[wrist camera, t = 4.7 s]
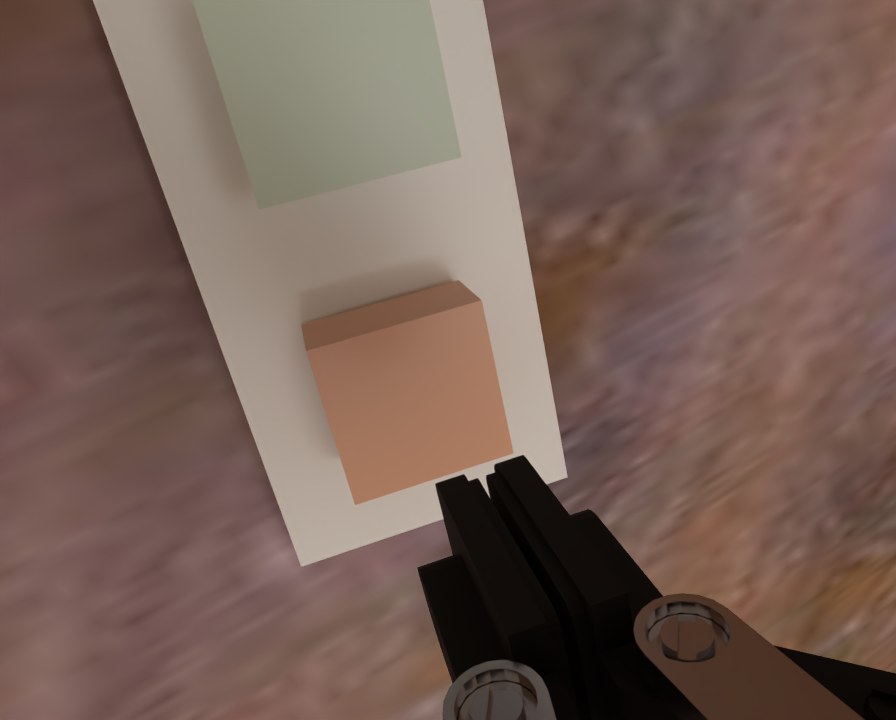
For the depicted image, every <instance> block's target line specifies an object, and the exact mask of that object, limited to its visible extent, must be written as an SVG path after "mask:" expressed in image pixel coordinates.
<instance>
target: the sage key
mask: <svg viewBox="0 0 896 720" xmlns="http://www.w3.org/2000/svg"><path fill="white" fill-rule="evenodd" d="M192 1H193V4H194V7H195V10H196V13H197V17H198V20H199V23H200V26H201V29H202V32H203V35H204V38H205V42H206V45H207V48H208V51H209V54H210V57H211V60H212V63H213V67H214V70H215V73H216V76H217V79H218V82H219V85H220V89H221V92H222V95H223V98H224V101H225V104H226V107H227V110H228V114H229V117H230V120H231V123H232V126H233V129H234V132H235V136H236V139H237V142H238V145H239V148H240V151H241V154H242V157H243V161H244V164H245V167H246V170H247V173H248V176H249V179H250V182H251V186H252V189H253V192H254V195H255V198H256V201H257V204H258V208H259V209H263V208H266V207H270V206H274V205H278V204H282V203H286V202H290V201H294V200H297V199H301V198H305V197H309V196H313V195H317V194H321V193H325V192H329V191H332V190H336V189H340V188H344V187H348V186H352V185H356V184H360V183H364V182H367V181H371V180H375V179H379V178H383V177H387V176H391V175H395V174H399V173H402V172H406V171H410V170H414V169H418V168H422V167H426V166H430V165H433V164H437V163H441V162H445V161H449V160H453V159H457V158H461V152H460V147H459V142H458V137H457V132H456V127H455V122H454V117H453V113H452V108H451V103H450V98H449V93H448V88H447V83H446V78H445V73H444V68H443V63H442V58H441V53H440V49H439V44H438V39H437V34H436V29H435V24H434V19H433V14H432V9H431V4H430V0H192Z"/></svg>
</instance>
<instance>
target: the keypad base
mask: <svg viewBox="0 0 896 720" xmlns="http://www.w3.org/2000/svg"><path fill="white" fill-rule="evenodd" d="M93 2H94V5H95V7H96V10H97V13H98V15H99V18H100V21H101V24H102V26H103V29H104V32H105V34H106V37H107V40H108V43H109V45H110V48H111V51H112V54H113V56H114V59H115V62H116V64H117V67H118V70H119V73H120V75H121V78H122V81H123V83H124V86H125V89H126V92H127V94H128V97H129V100H130V102H131V105H132V108H133V111H134V113H135V116H136V119H137V121H138V124H139V127H140V130H141V132H142V135H143V138H144V140H145V143H146V146H147V149H148V151H149V154H150V157H151V160H152V162H153V165H154V168H155V170H156V173H157V176H158V179H159V181H160V184H161V187H162V189H163V192H164V195H165V198H166V200H167V203H168V206H169V208H170V211H171V214H172V217H173V219H174V222H175V225H176V227H177V230H178V233H179V236H180V238H181V241H182V244H183V246H184V249H185V252H186V255H187V257H188V260H189V263H190V266H191V268H192V271H193V274H194V276H195V279H196V282H197V285H198V287H199V290H200V293H201V295H202V298H203V301H204V304H205V306H206V309H207V312H208V314H209V317H210V320H211V323H212V325H213V328H214V331H215V333H216V336H217V339H218V342H219V344H220V347H221V350H222V352H223V355H224V358H225V361H226V363H227V366H228V369H229V371H230V374H231V377H232V380H233V382H234V385H235V388H236V391H237V393H238V396H239V399H240V401H241V404H242V407H243V410H244V412H245V415H246V418H247V420H248V423H249V426H250V429H251V431H252V434H253V437H254V439H255V442H256V445H257V448H258V450H259V453H260V456H261V458H262V461H263V464H264V467H265V469H266V472H267V475H268V477H269V480H270V483H271V486H272V488H273V491H274V494H275V497H276V499H277V502H278V505H279V507H280V510H281V513H282V516H283V518H284V521H285V524H286V526H287V529H288V532H289V535H290V537H291V540H292V543H293V545H294V548H295V551H296V554H297V556H298V559H299V562H300V564H301V567H302V566H305V565H308V564H311V563H314V562H317V561H320V560H323V559H326V558H329V557H332V556H335V555H338V554H341V553H344V552H347V551H350V550H352V549H355V548H358V547H361V546H364V545H367V544H370V543H373V542H376V541H379V540H382V539H385V538H388V537H391V536H394V535H397V534H400V533H403V532H406V531H409V530H412V529H415V528H418V527H421V526H424V525H427V524H430V523H433V522H436V521H439V520H442V519H444V518H443V515H442V511H441V507H440V503H439V499H438V495H437V491H436V486H435V483H438V482H441V481H444V480H447V479H450V478H453V477H456V476H459V475H462V474H465V476H466V477H467V479H468V481H470V480H473V479H476V478H478V479H479V480H480V482H481V484H482V485H483V487H484V489H485V491H486V492H487V494H488V496H489V497H490V495H489V491H488V486H487V482H486V475H488V474H492V473H495V471H494V465H495V464H496V463H499V462H503V461H506V460H509V459H512V458H515V457H518V456H521V455H524V456H525V457H526V458H527V459H528V461H529V462H530V463H531V465H532V466H533V467H534V469H535V470H536V471H537V473H538V474H539V475H540V477H541V478H542V479H543V481H544V482H545V483H546V484H549V483H552V482H555V481H558V480H561V479H564V478H567V472H566V466H565V460H564V455H563V449H562V444H561V438H560V432H559V427H558V421H557V415H556V410H555V404H554V398H553V393H552V387H551V381H550V376H549V370H548V365H547V359H546V353H545V348H544V342H543V336H542V331H541V325H540V319H539V314H538V308H537V302H536V297H535V291H534V286H533V280H532V274H531V269H530V263H529V257H528V252H527V246H526V240H525V235H524V229H523V223H522V218H521V212H520V207H519V201H518V195H517V190H516V184H515V178H514V173H513V167H512V161H511V156H510V150H509V144H508V139H507V133H506V128H505V122H504V116H503V111H502V105H501V99H500V94H499V88H498V82H497V77H496V71H495V65H494V60H493V54H492V49H491V43H490V37H489V32H488V26H487V20H486V15H485V9H484V3H483V0H430V4H431V9H432V14H433V19H434V24H435V29H436V34H437V39H438V44H439V49H440V53H441V58H442V63H443V68H444V73H445V78H446V83H447V88H448V93H449V98H450V103H451V108H452V113H453V117H454V122H455V127H456V132H457V137H458V142H459V147H460V152H461V158H457V159H453V160H449V161H445V162H441V163H437V164H433V165H430V166H426V167H422V168H418V169H414V170H410V171H406V172H402V173H399V174H395V175H391V176H387V177H383V178H379V179H375V180H371V181H367V182H364V183H360V184H356V185H352V186H348V187H344V188H340V189H336V190H332V191H329V192H325V193H321V194H317V195H313V196H309V197H305V198H301V199H297V200H294V201H290V202H286V203H282V204H278V205H274V206H270V207H266V208H263V209H259V208H258V204H257V201H256V198H255V195H254V192H253V189H252V186H251V182H250V179H249V176H248V173H247V170H246V167H245V164H244V161H243V157H242V154H241V151H240V148H239V145H238V142H237V139H236V136H235V132H234V129H233V126H232V123H231V120H230V117H229V114H228V110H227V107H226V104H225V101H224V98H223V95H222V92H221V89H220V85H219V82H218V79H217V76H216V73H215V70H214V67H213V63H212V60H211V57H210V54H209V51H208V48H207V45H206V42H205V38H204V35H203V32H202V29H201V26H200V23H199V20H198V17H197V13H196V10H195V7H194V4H193V1H192V0H93ZM457 280H459V281H460V282H462V283H463V284H464V285H465V286H466V287H467V288H468V289H470V290H471V291H472V292H473V293H474V294H475V295H476V296H478V297H479V298H480V299H481V300H482V304H483V309H484V313H485V318H486V323H487V328H488V333H489V337H490V342H491V347H492V352H493V357H494V361H495V366H496V371H497V376H498V381H499V385H500V390H501V395H502V400H503V405H504V409H505V414H506V419H507V424H508V429H509V433H510V438H511V443H512V448H513V454H510V455H507V456H504V457H501V458H498V459H495V460H492V461H489V462H486V463H483V464H480V465H476V466H473V467H470V468H467V469H464V470H461V471H458V472H455V473H452V474H449V475H446V476H443V477H440V478H437V479H434V480H431V481H427V482H424V483H421V484H418V485H415V486H412V487H409V488H406V489H403V490H400V491H397V492H394V493H391V494H388V495H385V496H382V497H379V498H375V499H372V500H369V501H366V502H363V503H360V504H357V505H355V503H354V500H353V497H352V494H351V491H350V488H349V485H348V481H347V478H346V475H345V472H344V469H343V466H342V463H341V459H340V456H339V453H338V450H337V447H336V444H335V441H334V437H333V434H332V431H331V428H330V425H329V422H328V419H327V415H326V412H325V409H324V406H323V403H322V400H321V397H320V393H319V390H318V387H317V384H316V381H315V378H314V375H313V371H312V368H311V365H310V362H309V359H308V356H307V353H306V348H305V343H304V337H303V332H302V326H301V325H303V324H306V323H310V322H313V321H317V320H320V319H324V318H327V317H331V316H334V315H338V314H341V313H345V312H348V311H352V310H356V309H359V308H363V307H366V306H370V305H373V304H377V303H380V302H384V301H387V300H391V299H394V298H398V297H401V296H405V295H408V294H412V293H415V292H419V291H422V290H426V289H429V288H433V287H436V286H440V285H443V284H447V283H450V282H454V281H457Z"/></svg>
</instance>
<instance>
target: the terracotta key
mask: <svg viewBox="0 0 896 720" xmlns="http://www.w3.org/2000/svg"><path fill="white" fill-rule="evenodd" d="M301 326H302V332H303V337H304V343H305V348H306V353H307V356H308V359H309V362H310V365H311V368H312V371H313V375H314V378H315V381H316V384H317V387H318V390H319V393H320V397H321V400H322V403H323V406H324V409H325V412H326V415H327V419H328V422H329V425H330V428H331V431H332V434H333V437H334V441H335V444H336V447H337V450H338V453H339V456H340V459H341V463H342V466H343V469H344V472H345V475H346V478H347V481H348V485H349V488H350V491H351V494H352V497H353V500H354V503H355V505H357V504H360V503H363V502H366V501H369V500H372V499H375V498H379V497H382V496H385V495H388V494H391V493H394V492H397V491H400V490H403V489H406V488H409V487H412V486H415V485H418V484H421V483H424V482H427V481H431V480H434V479H437V478H440V477H443V476H446V475H449V474H452V473H455V472H458V471H461V470H464V469H467V468H470V467H473V466H476V465H480V464H483V463H486V462H489V461H492V460H495V459H498V458H501V457H504V456H507V455H510V454H513V448H512V443H511V438H510V433H509V429H508V424H507V419H506V414H505V409H504V405H503V400H502V395H501V390H500V385H499V381H498V376H497V371H496V366H495V361H494V357H493V352H492V347H491V342H490V337H489V333H488V328H487V323H486V318H485V313H484V309H483V304H482V300H481V299H480V298H479V297H478V296H476V295H475V294H474V293H473V292H472V291H471V290H470V289H468V288H467V287H466V286H465V285H464V284H463V283H462V282H460V281H459V280H457V281H454V282H450V283H447V284H443V285H440V286H436V287H433V288H429V289H426V290H422V291H419V292H415V293H412V294H408V295H405V296H401V297H398V298H394V299H391V300H387V301H384V302H380V303H377V304H373V305H370V306H366V307H363V308H359V309H356V310H352V311H348V312H345V313H341V314H338V315H334V316H331V317H327V318H324V319H320V320H317V321H313V322H310V323H306V324H303V325H301Z"/></svg>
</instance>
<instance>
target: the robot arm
mask: <svg viewBox="0 0 896 720" xmlns="http://www.w3.org/2000/svg"><path fill="white" fill-rule="evenodd" d="M494 471H495V473H492V474H488V475H486V482H487V486H488V491H489V495H490V497H489V496H488V494H487V492H486V491H485V489H484V487H483V485H482V484H481V482H480V480H479V479H478V478H476V479H473V480H470V481H468V479H467V477H466V476H465V474H462V475H459V476H456V477H453V478H450V479H447V480H444V481H441V482H438V483H435V486H436V491H437V495H438V499H439V503H440V507H441V511H442V515H443V518H444V522H445V526H446V530H447V534H448V538H449V542H450V546H451V549H452V553H453V556H450V557H447V558H444V559H441V560H438V561H435V562H432V563H430V564H427V565H424V566H421V567H418V572H419V576H420V580H421V583H422V587H423V590H424V594H425V597H426V601H427V604H428V608H429V611H430V614H431V618H432V621H433V624H434V628H435V631H436V634H437V637H438V640H439V643H440V646H441V650H442V653H443V656H444V659H445V662H446V665H447V668H448V671H449V674H450V677H451V680H452V682H453V684H452V685H451V687H450V688H449V690H448V692H447V695H446V697H445V699H444V704H443V720H896V674H895V673H891V672H887V671H882V670H878V669H874V668H869V667H865V666H861V665H856V664H852V663H848V662H843V661H839V660H835V659H830V658H826V657H821V656H817V655H813V654H808V653H804V652H800V651H795V650H791V649H787V648H782V647H778V646H774V645H772V644H771V643H770V642H768V641H767V640H766V639H765V638H763V637H762V636H761V635H760V634H758V633H757V632H756V631H755V630H754V629H752V628H751V627H750V626H749V625H747V624H746V623H745V622H744V621H742V620H741V619H740V618H739V617H738V616H736V615H735V614H734V613H733V612H731V611H730V610H729V609H728V608H726V607H725V606H723V605H721V604H720V603H718V602H716V601H715V600H712V599H709V598H706V597H703V596H700V595H694V594H684V593H682V594H673V595H666V596H662V594H661V593H660V592H659V591H658V589H657V588H656V587H655V586H654V585H653V583H652V582H651V581H650V580H649V579H648V577H647V576H646V575H645V574H644V572H643V571H642V570H641V569H640V568H639V566H638V565H637V564H636V563H635V561H634V560H633V559H632V558H631V557H630V555H629V554H628V553H627V552H626V551H625V549H624V548H623V547H622V546H621V544H620V543H619V542H618V541H617V540H616V538H615V537H614V536H613V535H612V533H611V532H610V531H609V530H608V529H607V527H606V526H605V525H604V524H603V523H602V521H601V520H600V519H599V518H598V516H597V515H596V514H595V513H594V512H593V511H592V510H589V509H587V510H584V511H581V512H579V513H576V514H573V515H569V514H568V512H567V511H566V510H565V508H564V507H563V506H562V504H561V503H560V502H559V500H558V499H557V498H556V496H555V495H554V494H553V493H552V491H551V490H550V489H549V487H548V486H547V485H546V483H545V482H544V481H543V479H542V478H541V477H540V475H539V474H538V473H537V471H536V470H535V469H534V467H533V466H532V465H531V463H530V462H529V461H528V459H527V458H526V457H525V456H524V455H521V456H518V457H515V458H512V459H509V460H506V461H503V462H499V463H496V464H495V465H494Z"/></svg>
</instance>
